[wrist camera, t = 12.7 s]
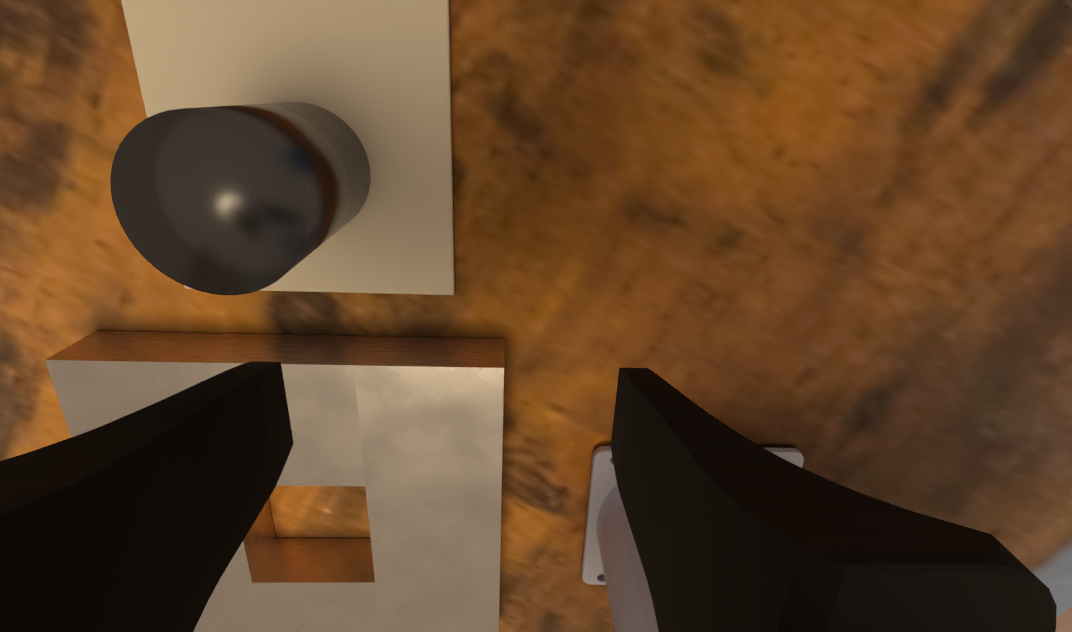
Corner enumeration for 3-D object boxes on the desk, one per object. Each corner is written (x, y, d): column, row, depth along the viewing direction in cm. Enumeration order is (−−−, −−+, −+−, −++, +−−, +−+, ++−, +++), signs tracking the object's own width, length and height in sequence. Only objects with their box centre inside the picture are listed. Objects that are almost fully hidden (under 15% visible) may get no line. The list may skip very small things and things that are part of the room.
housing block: (504, 338, 22) (503, 367, 20) (499, 618, 28) (498, 665, 26) (95, 330, 21) (45, 359, 19) (181, 620, 27) (151, 669, 25)
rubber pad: (448, -3, 17) (447, -5, 17) (454, 291, 21) (453, 295, 21) (125, -19, 17) (116, -22, 16) (190, 285, 21) (184, 288, 20)
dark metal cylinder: (367, 107, 18) (297, 116, 12) (373, 235, 20) (314, 299, 14) (231, 97, 18) (89, 100, 12) (248, 228, 19) (132, 290, 13)
